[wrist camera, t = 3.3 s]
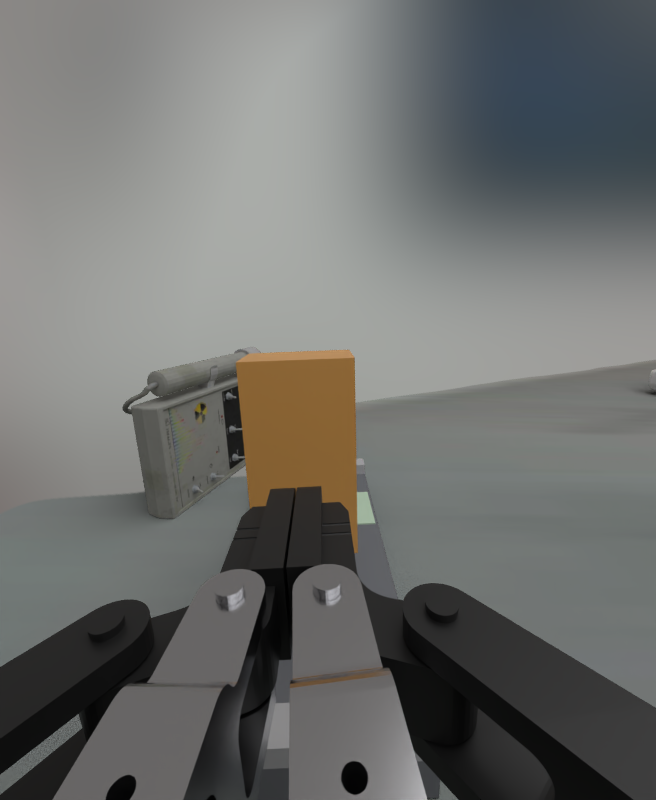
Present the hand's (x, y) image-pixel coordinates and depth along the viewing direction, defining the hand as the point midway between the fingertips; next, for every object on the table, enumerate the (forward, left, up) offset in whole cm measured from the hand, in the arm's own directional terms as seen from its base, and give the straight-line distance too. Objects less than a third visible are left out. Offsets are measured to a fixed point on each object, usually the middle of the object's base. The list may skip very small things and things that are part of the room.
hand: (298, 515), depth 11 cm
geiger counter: (+27, +22, -13) cm, 37 cm away
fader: (+7, +3, -10) cm, 12 cm away
